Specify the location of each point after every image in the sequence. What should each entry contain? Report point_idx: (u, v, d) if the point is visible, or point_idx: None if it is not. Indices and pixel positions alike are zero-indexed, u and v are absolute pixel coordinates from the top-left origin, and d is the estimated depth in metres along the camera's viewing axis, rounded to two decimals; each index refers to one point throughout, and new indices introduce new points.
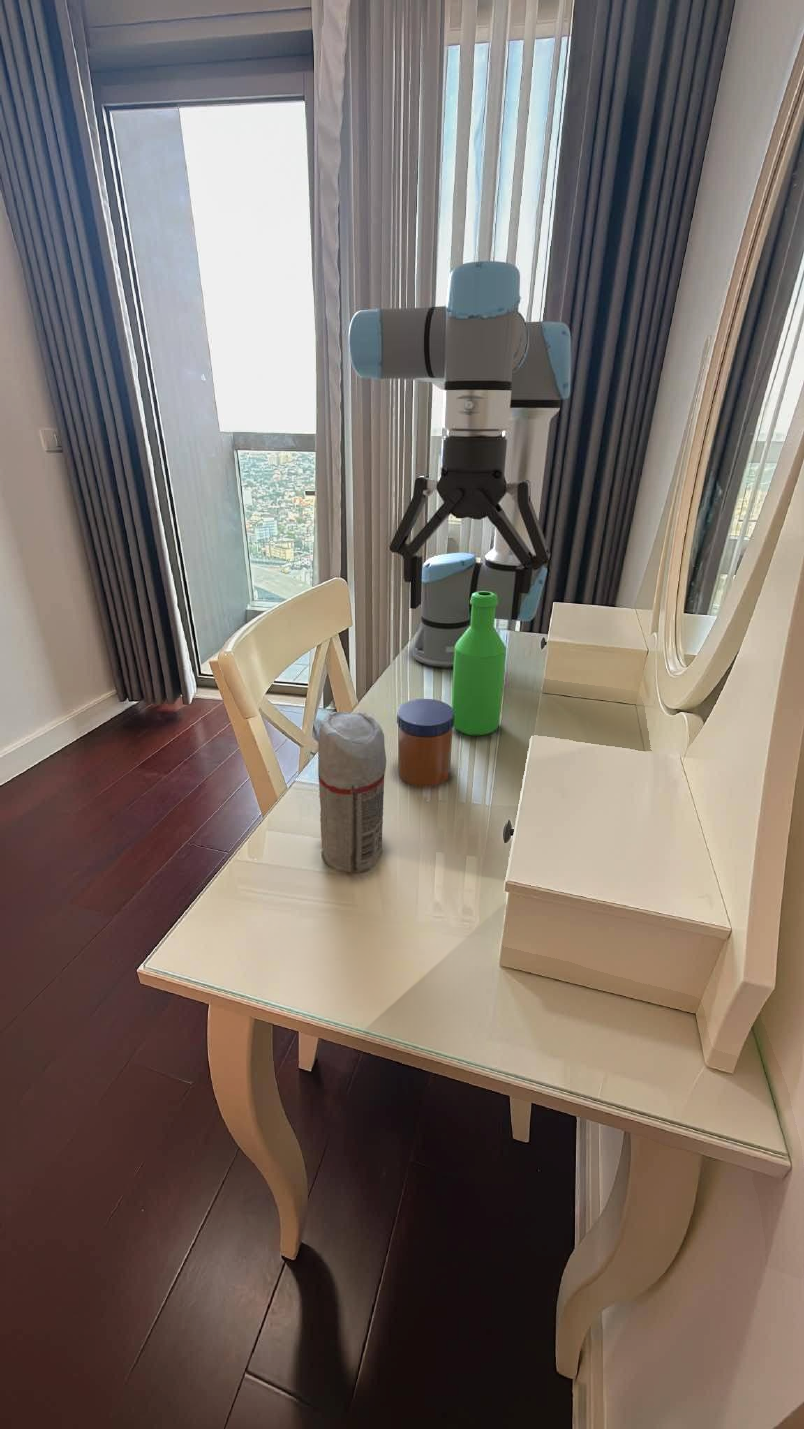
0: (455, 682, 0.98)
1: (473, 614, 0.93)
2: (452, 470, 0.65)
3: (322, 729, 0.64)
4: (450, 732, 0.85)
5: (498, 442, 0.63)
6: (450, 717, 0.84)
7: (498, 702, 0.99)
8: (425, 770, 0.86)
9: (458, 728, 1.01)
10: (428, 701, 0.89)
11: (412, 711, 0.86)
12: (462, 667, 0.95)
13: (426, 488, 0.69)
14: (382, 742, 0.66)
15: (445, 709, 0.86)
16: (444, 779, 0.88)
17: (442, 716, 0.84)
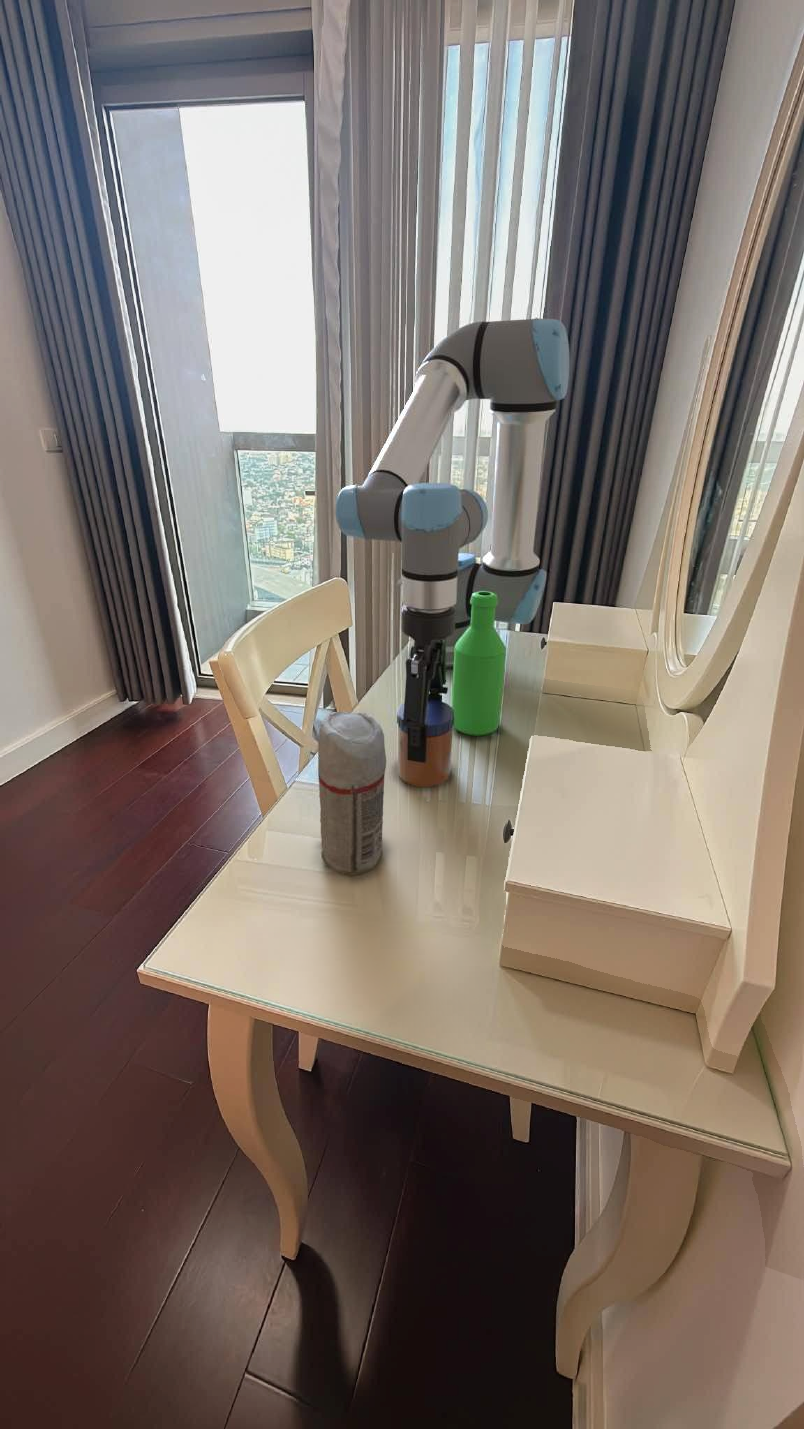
0: (455, 682, 0.98)
1: (473, 614, 0.93)
2: None
3: (322, 729, 0.64)
4: (450, 732, 0.85)
5: (408, 616, 0.76)
6: (450, 717, 0.84)
7: (498, 702, 0.99)
8: (425, 770, 0.86)
9: (458, 728, 1.01)
10: (428, 701, 0.89)
11: None
12: (462, 667, 0.95)
13: None
14: (382, 742, 0.66)
15: (445, 709, 0.86)
16: (444, 779, 0.88)
17: (442, 716, 0.84)
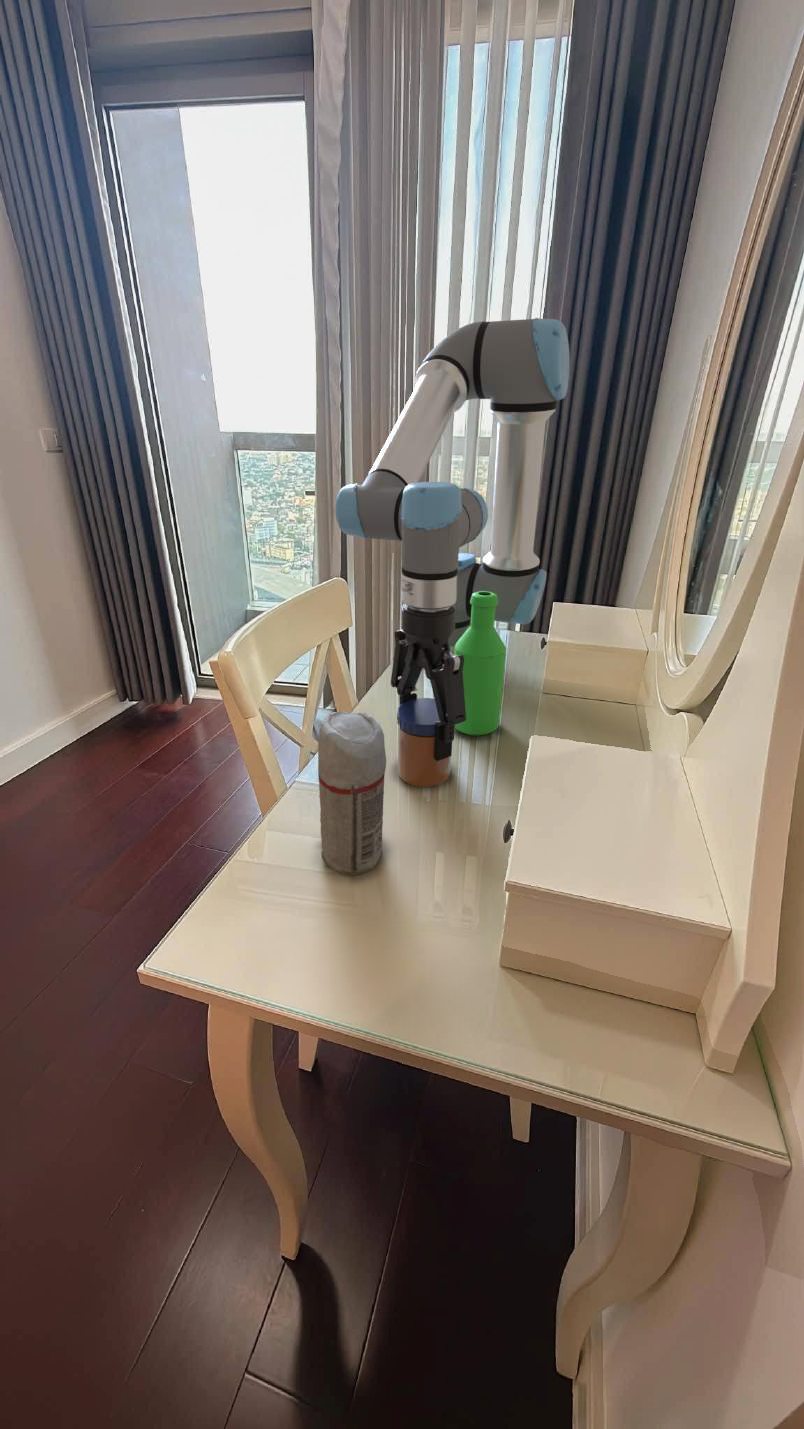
0: None
1: (473, 614, 0.93)
2: None
3: (322, 729, 0.64)
4: None
5: (430, 618, 0.75)
6: None
7: (498, 702, 0.99)
8: (425, 770, 0.86)
9: (458, 728, 1.01)
10: (410, 702, 0.88)
11: (417, 715, 0.84)
12: None
13: (403, 638, 0.84)
14: (382, 742, 0.66)
15: (433, 702, 0.88)
16: (444, 779, 0.88)
17: None
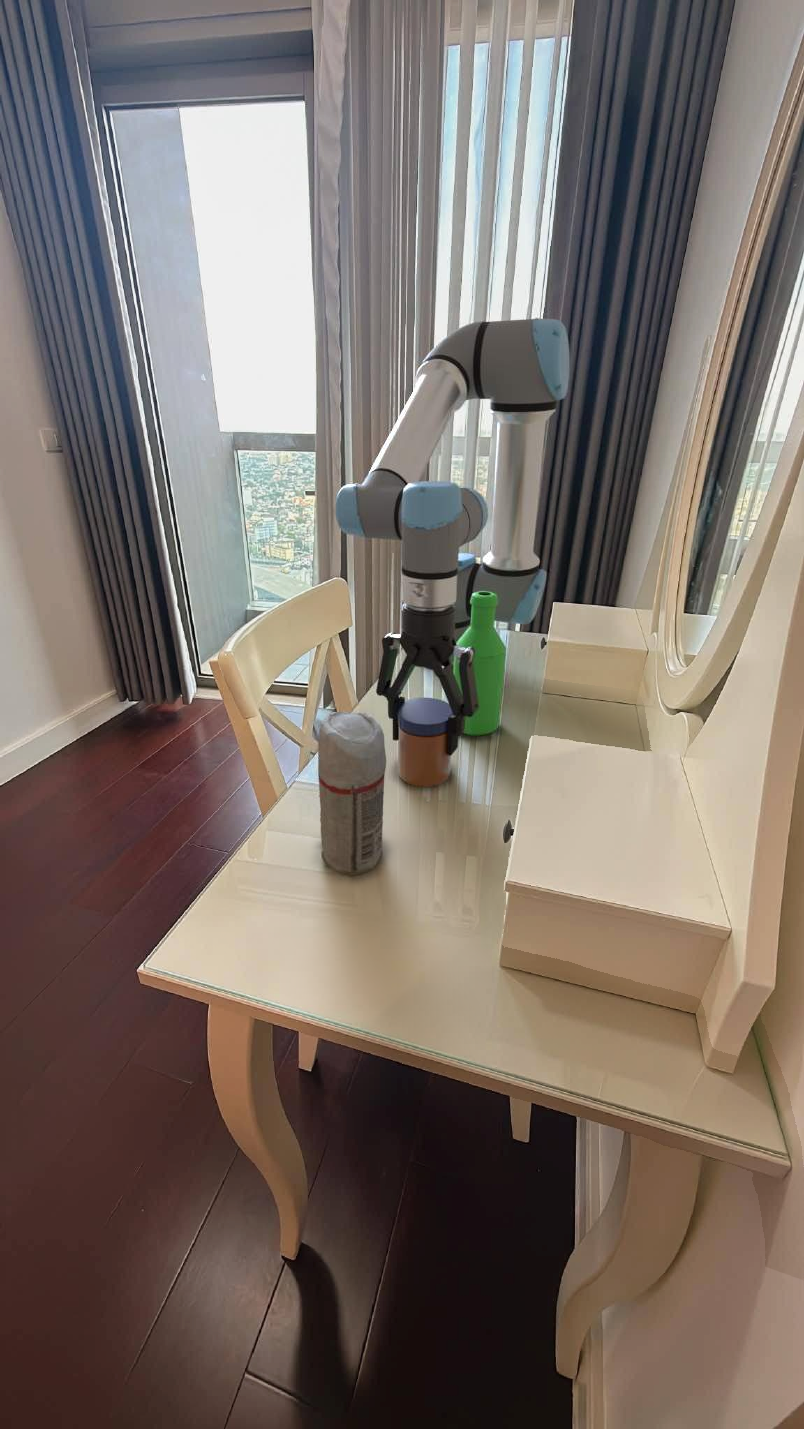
0: None
1: (473, 614, 0.93)
2: (407, 634, 0.78)
3: (322, 729, 0.64)
4: None
5: (443, 616, 0.75)
6: (441, 700, 0.88)
7: (498, 702, 0.99)
8: (425, 770, 0.86)
9: None
10: (403, 706, 0.87)
11: (423, 716, 0.84)
12: None
13: (392, 643, 0.82)
14: (382, 742, 0.66)
15: (424, 700, 0.88)
16: (444, 779, 0.88)
17: (437, 703, 0.87)
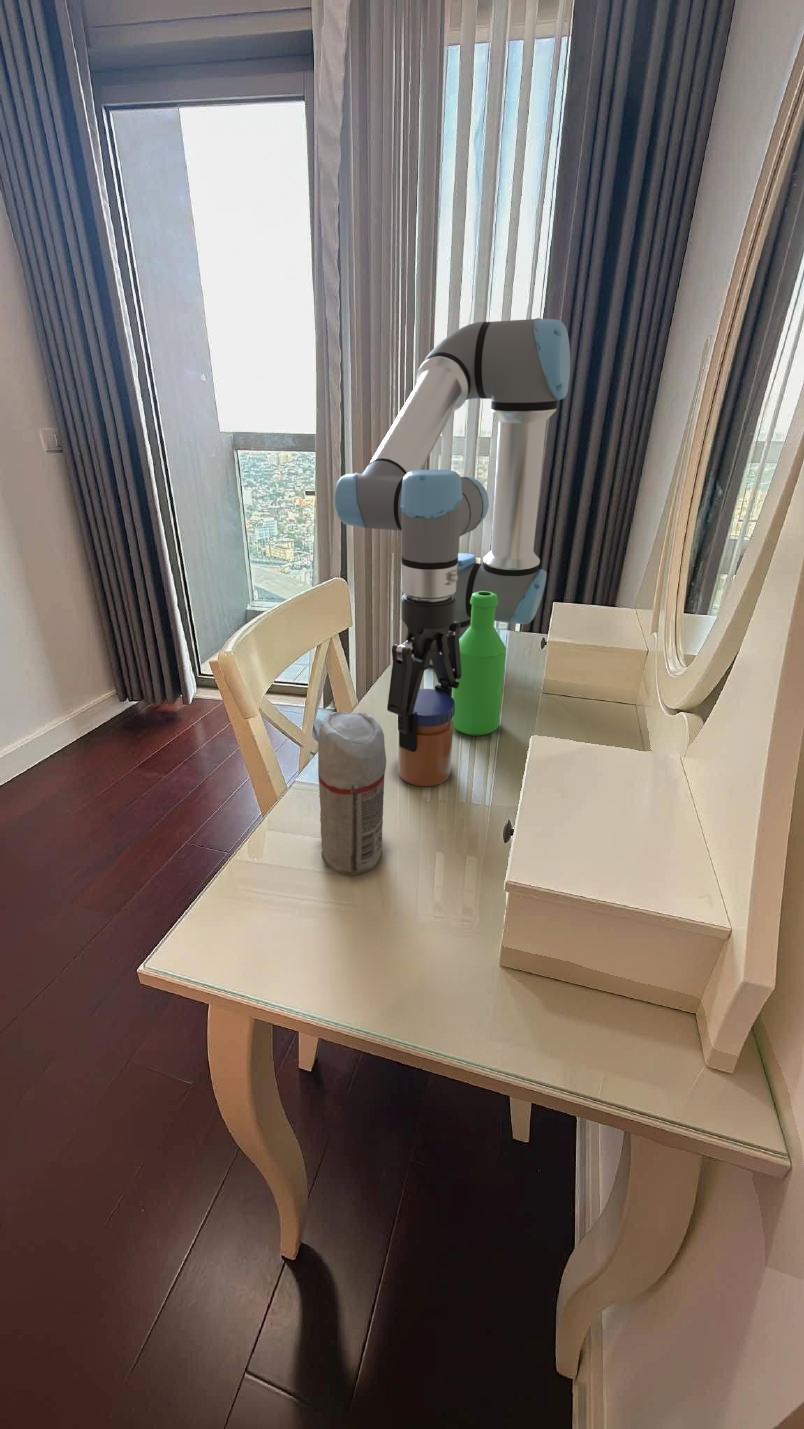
0: None
1: (473, 614, 0.93)
2: (440, 628, 0.76)
3: (322, 729, 0.64)
4: (451, 731, 0.85)
5: None
6: None
7: (498, 702, 0.99)
8: (425, 769, 0.86)
9: (458, 728, 1.01)
10: (415, 711, 0.82)
11: (438, 703, 0.84)
12: (462, 667, 0.95)
13: None
14: (382, 742, 0.66)
15: None
16: (444, 778, 0.88)
17: None
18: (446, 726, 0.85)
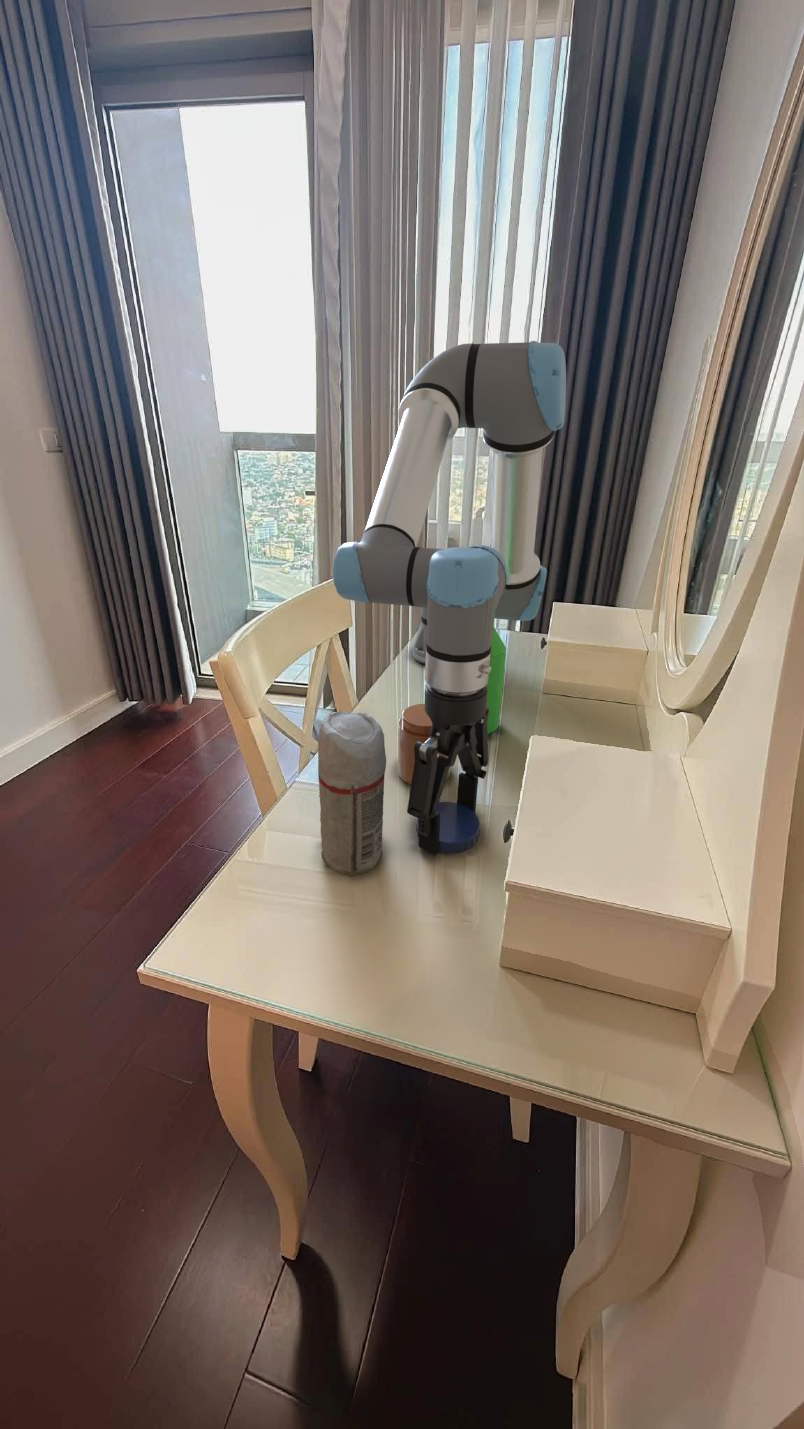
0: None
1: None
2: (469, 723, 0.66)
3: (322, 729, 0.64)
4: None
5: None
6: None
7: (498, 702, 0.99)
8: None
9: None
10: None
11: (462, 824, 0.77)
12: None
13: None
14: (382, 742, 0.66)
15: None
16: None
17: None
18: None
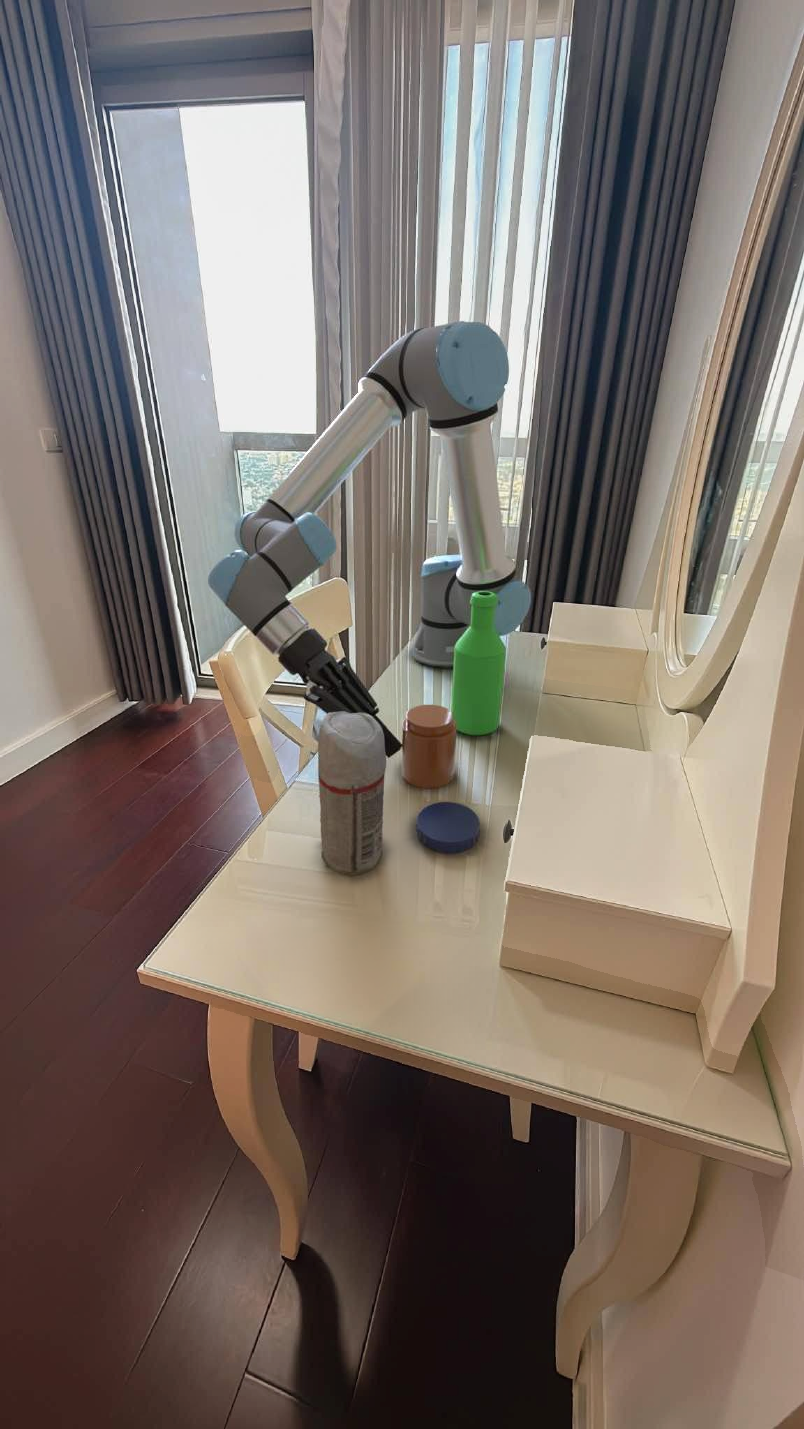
0: (455, 682, 0.98)
1: (473, 614, 0.93)
2: None
3: (322, 729, 0.64)
4: (454, 733, 0.85)
5: (279, 660, 0.85)
6: (427, 807, 0.80)
7: (498, 702, 0.99)
8: (429, 771, 0.86)
9: (458, 728, 1.01)
10: (436, 836, 0.75)
11: (462, 824, 0.77)
12: (462, 667, 0.95)
13: None
14: (382, 742, 0.66)
15: (425, 819, 0.78)
16: (448, 780, 0.88)
17: (434, 810, 0.79)
18: (450, 728, 0.84)
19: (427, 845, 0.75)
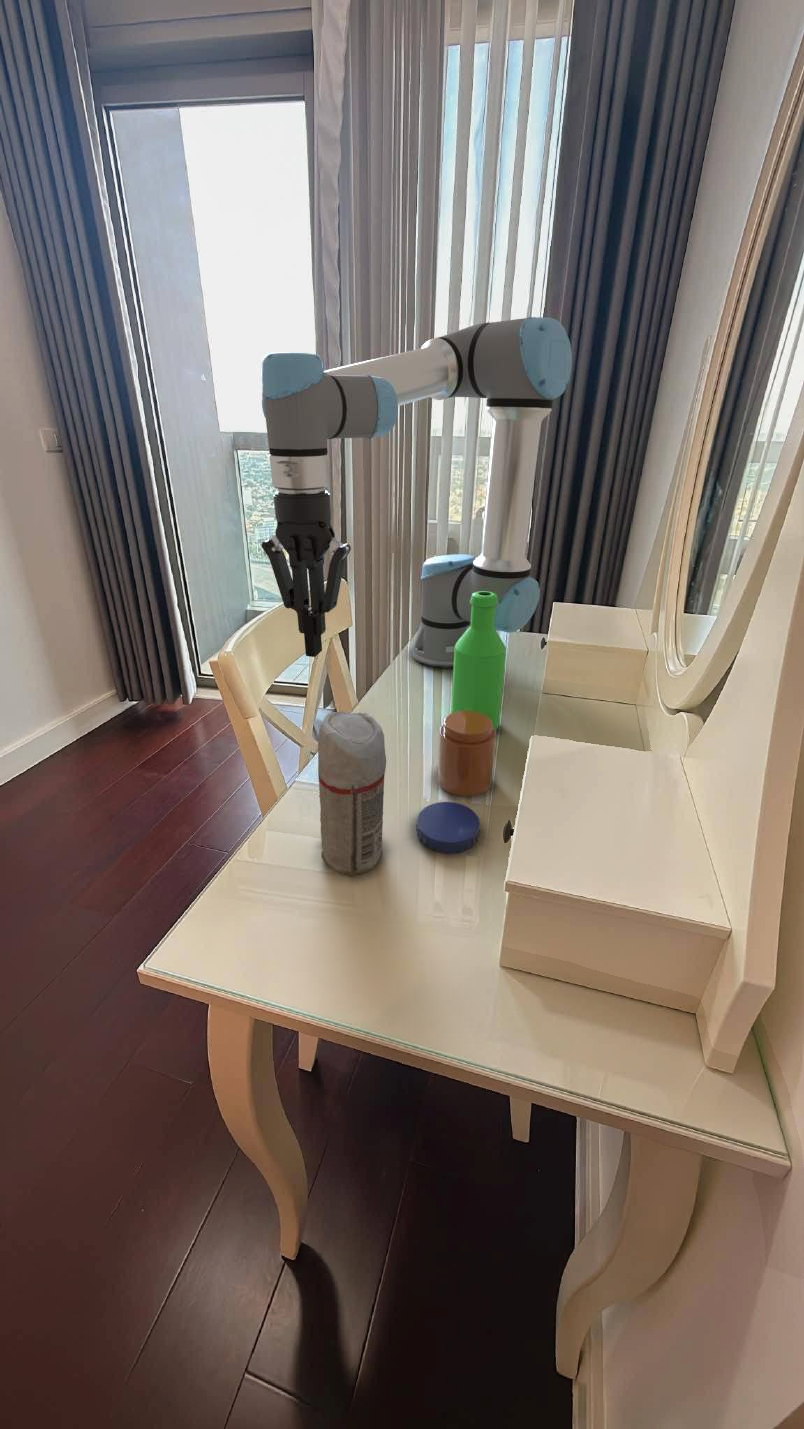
0: (455, 682, 0.98)
1: (473, 614, 0.93)
2: (281, 521, 0.75)
3: (322, 729, 0.64)
4: (493, 741, 0.83)
5: (317, 498, 0.73)
6: (427, 807, 0.80)
7: (498, 702, 0.99)
8: (466, 779, 0.84)
9: None
10: (436, 836, 0.75)
11: (462, 824, 0.77)
12: (462, 667, 0.95)
13: (274, 546, 0.80)
14: (382, 742, 0.66)
15: (425, 819, 0.78)
16: (485, 788, 0.86)
17: (434, 810, 0.79)
18: (488, 736, 0.83)
19: (427, 845, 0.75)
